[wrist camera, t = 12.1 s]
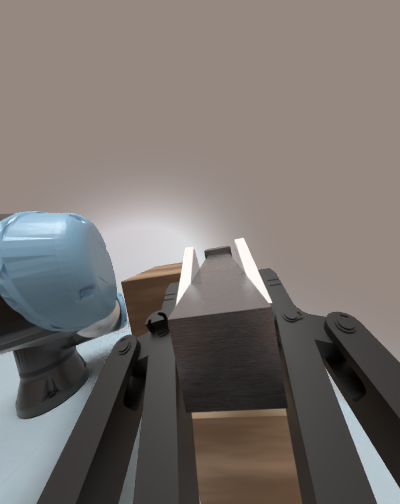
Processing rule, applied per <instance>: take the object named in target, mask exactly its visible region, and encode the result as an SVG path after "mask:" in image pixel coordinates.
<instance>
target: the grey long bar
mask: <svg viewBox="0 0 400 504" xmlns="http://www.w3.org/2000/svg"><path fill="white" fill-rule="evenodd" d="M204 252H205V257H206V260H205V261H204V263H203V264H202V266H201V268H200V269H199V271H198V273H197V274H196V276H195V277H194V279H193V280H192V282H191V284H190V285H189V286H188V288H187V289H186V291H185V293H184V294H183V296H182V297H181V299H180V300H179V302H178V304H177V305H176V307H175V308H174V310H173V311H172V313H171V315H170V316H169V318H168V319H167V321H168V326H169V331H170V336H171V341H172V346H173V351H174V356H175V361H176V366H177V371H178V376H179V381H180V386H181V391H182V396H183V401H184V406H185V411H186V413H197V412H220V411H242V410H265V409H287V408H288V406H287V399H286V393H285V387H284V381H283V374H282V368H281V362H280V356H279V350H278V343H277V337H276V331H275V325H274V318H273V312H272V307H271V305H270V304H269V303H268V302H267V300H266V299H265V298H264V297H263V295H262V294H261V293H260V291H259V290H258V289H257V288H256V286H255V285H254V284H253V283H252V281H251V280H250V279H249V278H248V276H247V275H246V274H245V273H244V271H243V270H242V269H241V268H240V266H239V265H238V264H237V263H236V262H235V260H234V259H233V258H232V254H231V248H230V246H224V247H218V248H212V249H207V250H205V251H204Z"/></svg>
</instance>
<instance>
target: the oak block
mask: <svg viewBox="0 0 400 504" xmlns="http://www.w3.org/2000/svg"><path fill="white" fill-rule="evenodd" d="M192 421H193V433H194V444H195V456H196V467H197V479H198V491H199V496H200V501H201V504H302V498H301V492H300V487H299V481H298V476H297V470H296V464H295V459H294V453H293V448H292V442H291V437H290V431H289V425H288V420H287V414H286V409H265V410H242V411H220V412H197V413H192Z"/></svg>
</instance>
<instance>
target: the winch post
mask: <svg viewBox="0 0 400 504" xmlns="http://www.w3.org/2000/svg"><path fill="white" fill-rule="evenodd" d="M182 265H183V263H177V264H170V265H164V266H158V267H154V268H152V269H149V270H147V271H145V272H142V273H140V274H138V275H136V276H134V277H131V278H129V279H127V280H125V281H122V282H121V284H122V289H123V294H124V298H125V303H126V308H127V313H128V318H129V322H130V327H131V332H132V335H134V336H135V337H136V338H137V337H139V336H141V335H144V334H146V333H148V332H150V331H149V330H148V328H147V327H146V326H145V323H146V320H147V319H148V317H149V316H150V315H151V314H152V313H154V312H156V311H160V310H162V306H163V302H164V298H165V294H166V290H167V288H168V286H169V285H170V283H176V282H180V277H181V271H182Z"/></svg>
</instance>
